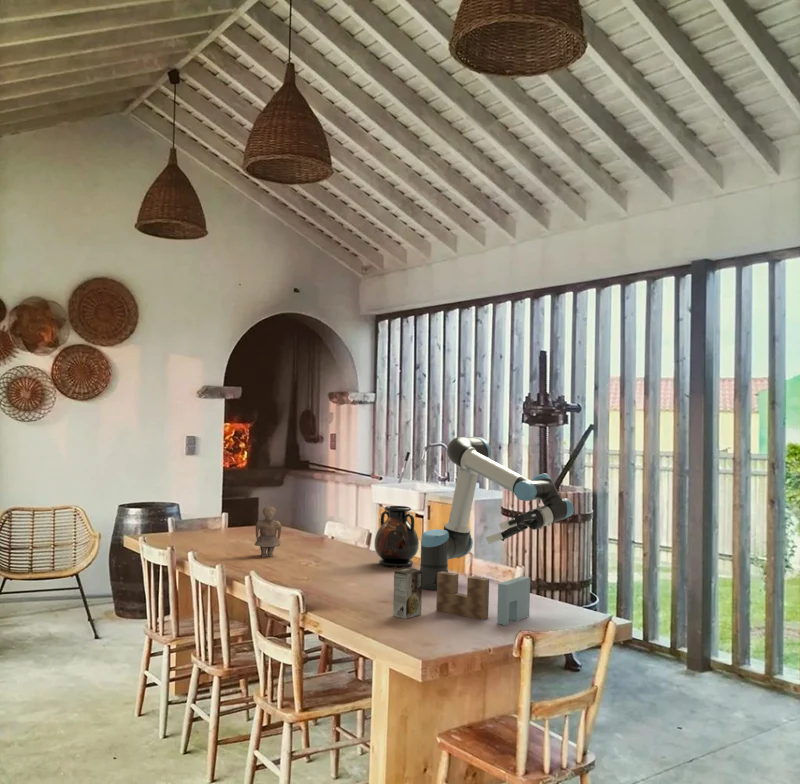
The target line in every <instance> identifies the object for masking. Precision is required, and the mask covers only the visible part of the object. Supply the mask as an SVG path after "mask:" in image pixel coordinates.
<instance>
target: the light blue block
mask: <svg viewBox="0 0 800 784" xmlns="http://www.w3.org/2000/svg"><path fill="white" fill-rule="evenodd" d="M497 585H498V586H497V613H496V614H497V617H496V618H497V619H496V624H497V623H498V624H497V625H501V624H502V625H503V626H508V624H510V621H513V620H515V621H514V622H518V621H521V620H523V619H525V618H524V617H526V618H528V617H530V605H531V604H530V602H531V597H530V596H531V577H529V576H523V575H522V576H518V577H515V578H512V579H509V580H506V581H503V582H499V583H498V584H497ZM527 616H528V617H527ZM522 618H523V619H522ZM509 619H510V620H509ZM520 619H521V620H520ZM517 620H518V621H517ZM502 625H501V626H502Z"/></svg>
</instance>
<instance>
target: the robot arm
mask: <svg viewBox="0 0 800 784" xmlns="http://www.w3.org/2000/svg"><path fill="white" fill-rule="evenodd" d="M491 454H492V450H491V447H490V444H489V443H488V441H487V440H486V439H484V438H482V437H479V436H457V437H454V438H453V439H452V440H451V441H450V442H449V443H448V445H447V448H446V455H447V457H448V459H449V461H450V462H452V463H453V464H454V465H456V467H457V468H458V472H457V476H456V481H455V488H454V491H453V492H454V494H453V497H452V502H451V507H450V513H449V518H448V522H446V523H444V525H443V529H428V530H426V531H424V532H423V533H422V534H421V541H420V567H419V570H422V590H429V591H437V573H438V572H442V571H443V572H449V560H453V559H459V558H462V557H464V556H467V555H469V553H470V552H471V550H472V548H473V545H474V542H473V541H474V540H473V538H472V535H471V529H470V527H469V523H470V522H469V521H470V517H471V511H472V507H473V503H474V501H473V500H474V498H475V497H474V496H475V491H476V487H477V481H478V476H482V477H483V478H485V479H487V480H490V481H491V482H493V483H494V484H497V485H498V486H500V487H502V488H504V489H506V490H508V491H510V492H512V493H513V494H514V495H515V497H516V498H517V499H518V500H520V501H523V502H524V501H525V502H529V501H535V500H541V503H542V504H543V505H542V506H539V507H536V508H534V509H533V508H532V509H531V510H530V509H529V510H527V511H526V513H523V514H518V515H516V514H515V515H514V516H513V518H512V519H509V520H506V521H503V522H500V523H499V524H498V525H499V527H500V529H501V532H497V533H494V534H492V535H489V536H486V537H485V539H486V541H487V543H488V545H490V544H493V543H495V542H496V543H497V542H498V541H502V542H504V541H505V540H507V539H508V538H511V537H512V536H515V535H516V534H519V533H522V532H524V530H527V529H528V528H529V529H531V530H534V531H535V530H537V529H538V530H539V529H540V528H542V527H545V526H549V527H550V526H551V524H554V523H557V522H559V521H563V520H565V519H568V518H569V517H571V516H572V515H574V511H575V509H574V505H573V502H572V501H571V500H570V499H569V498H563V497H562V496H561V494H560V493H559V491H558V489H557V488H556V486H555V483H554V482H553V480H552V478H551V477H550V475H549V474H548V473H544V472H543V473H541V474H537V475H536V476H535V477H533V479H532V480H530V479H529V478H527V477H525V476H523V475H521V474H519V473H518V472H516V471H514V470H512V469H510V468H509V467H506V466H504V465H502V464H501V463H498V462H496V461H495V460H492V459H491Z"/></svg>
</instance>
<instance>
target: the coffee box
mask: <svg viewBox="0 0 800 784" xmlns="http://www.w3.org/2000/svg"><path fill="white" fill-rule="evenodd" d="M393 573H394V574H393V577H394V578H393V602H392V603H393V605H392V606H393V607H392V608H393V609H392V616H393V617H397V618H400V617H401V619H403V620H405V619H406V620H407V619H410V618H413V617H417V616H420V615H422V598H423V597H422V595H423V594H422V592H423V589H422V570H420V569H417V568H413V567H406V568H401V569H399V570H394V571H393Z"/></svg>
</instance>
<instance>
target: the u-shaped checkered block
mask: <svg viewBox="0 0 800 784" xmlns="http://www.w3.org/2000/svg"><path fill="white" fill-rule="evenodd" d="M466 585H467V589H466V593H459V573H455V572H450V571H448V572H443V571H442V572H438V573H437V590H436V611H437V612H441V611H442V612H441V613H447V614H452V615H457V616H463V617H467V618H471V617H472V618H471V619H476V618H477V619H478V620H481V619H483V620H482V621H485V620H487V619H489V605H490V604H489V603H490V599H489V598H490V578H485V577H479V576H469V577H467V583H466ZM486 618H487V619H486ZM477 619H476V620H477ZM484 619H485V620H484Z"/></svg>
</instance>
